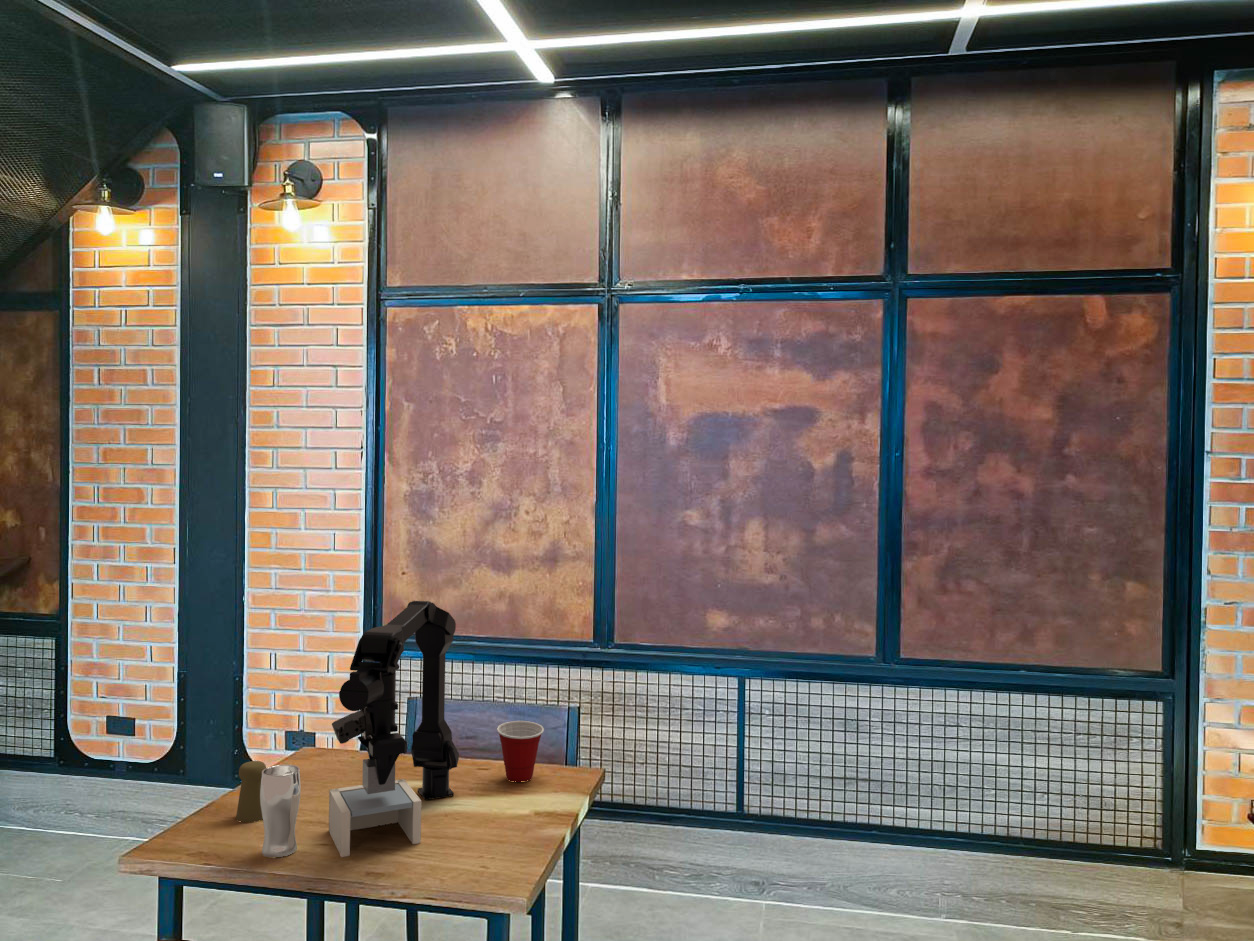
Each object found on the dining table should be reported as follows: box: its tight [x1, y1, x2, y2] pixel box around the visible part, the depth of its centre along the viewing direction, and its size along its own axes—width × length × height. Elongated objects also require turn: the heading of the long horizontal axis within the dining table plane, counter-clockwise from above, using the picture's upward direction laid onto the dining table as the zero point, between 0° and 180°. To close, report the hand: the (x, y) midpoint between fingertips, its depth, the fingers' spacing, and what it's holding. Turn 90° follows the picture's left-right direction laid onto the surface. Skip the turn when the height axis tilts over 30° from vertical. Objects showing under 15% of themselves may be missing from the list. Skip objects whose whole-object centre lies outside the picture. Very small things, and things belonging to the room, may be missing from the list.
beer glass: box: [260, 764, 301, 858], centre depth 165 cm, size 7×7×15 cm
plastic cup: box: [496, 720, 545, 783], centre depth 206 cm, size 11×11×12 cm
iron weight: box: [361, 758, 396, 794], centre depth 170 cm, size 5×5×5 cm
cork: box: [235, 760, 267, 823], centre depth 181 cm, size 6×6×11 cm
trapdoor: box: [341, 784, 412, 817], centre depth 172 cm, size 12×11×1 cm
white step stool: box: [328, 778, 422, 858], centre depth 172 cm, size 14×15×8 cm
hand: (378, 779), depth 170 cm, fingers closed on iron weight, 5 cm apart
